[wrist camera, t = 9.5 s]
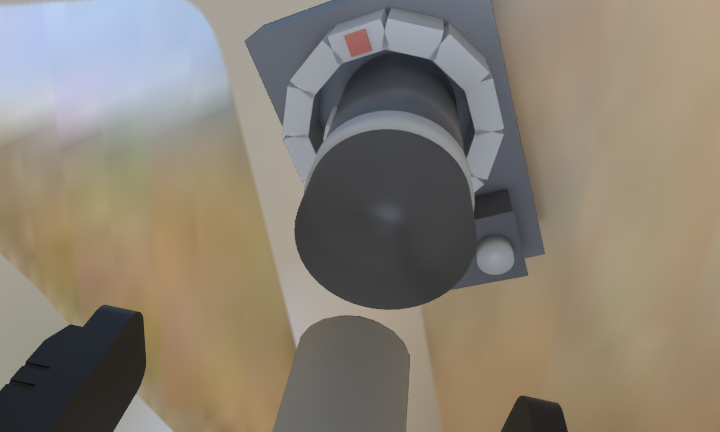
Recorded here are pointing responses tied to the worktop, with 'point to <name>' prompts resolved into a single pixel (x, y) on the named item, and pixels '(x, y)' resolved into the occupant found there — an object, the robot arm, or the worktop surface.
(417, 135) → the lens
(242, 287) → the worktop surface
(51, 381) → the robot arm
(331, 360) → the can
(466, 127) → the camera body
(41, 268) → the worktop surface
